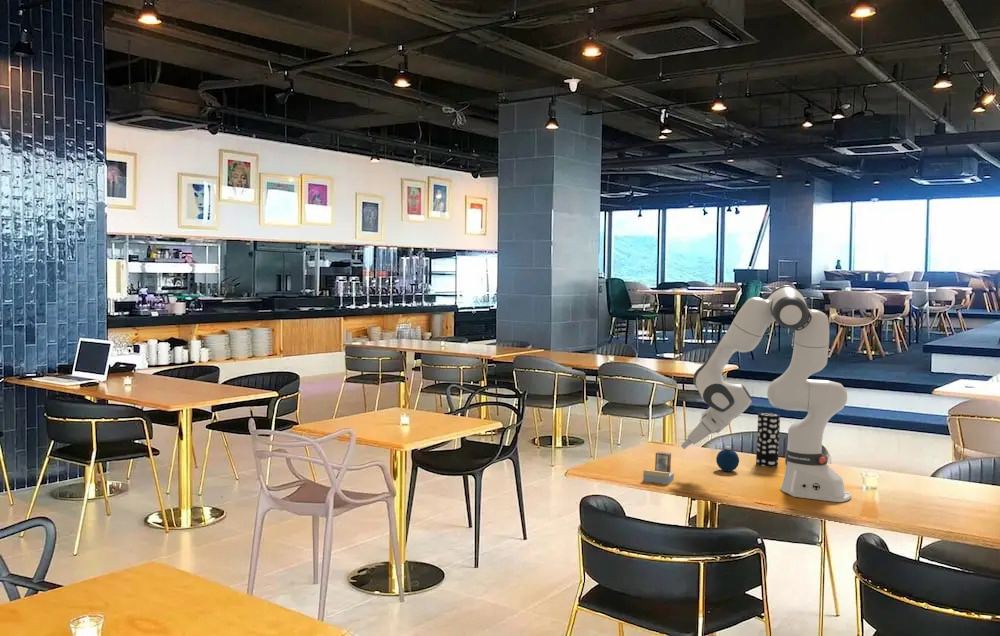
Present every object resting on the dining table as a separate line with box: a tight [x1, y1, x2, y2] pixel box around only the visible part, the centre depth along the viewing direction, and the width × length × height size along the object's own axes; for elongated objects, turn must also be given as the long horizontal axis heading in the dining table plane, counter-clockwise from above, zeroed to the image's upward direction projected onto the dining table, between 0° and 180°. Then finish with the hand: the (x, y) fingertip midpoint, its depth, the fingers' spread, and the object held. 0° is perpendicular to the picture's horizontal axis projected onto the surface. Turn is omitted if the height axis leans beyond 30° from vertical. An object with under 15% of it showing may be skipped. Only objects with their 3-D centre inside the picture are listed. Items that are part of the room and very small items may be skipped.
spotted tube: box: [755, 412, 781, 468], centre depth 332 cm, size 8×8×20 cm
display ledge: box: [642, 469, 675, 485], centre depth 300 cm, size 9×8×4 cm
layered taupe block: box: [654, 451, 672, 473], centre depth 309 cm, size 5×3×8 cm, turn 65°
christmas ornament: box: [715, 445, 740, 472], centre depth 319 cm, size 8×8×10 cm
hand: (684, 444), depth 304 cm, fingers open, 8 cm apart
